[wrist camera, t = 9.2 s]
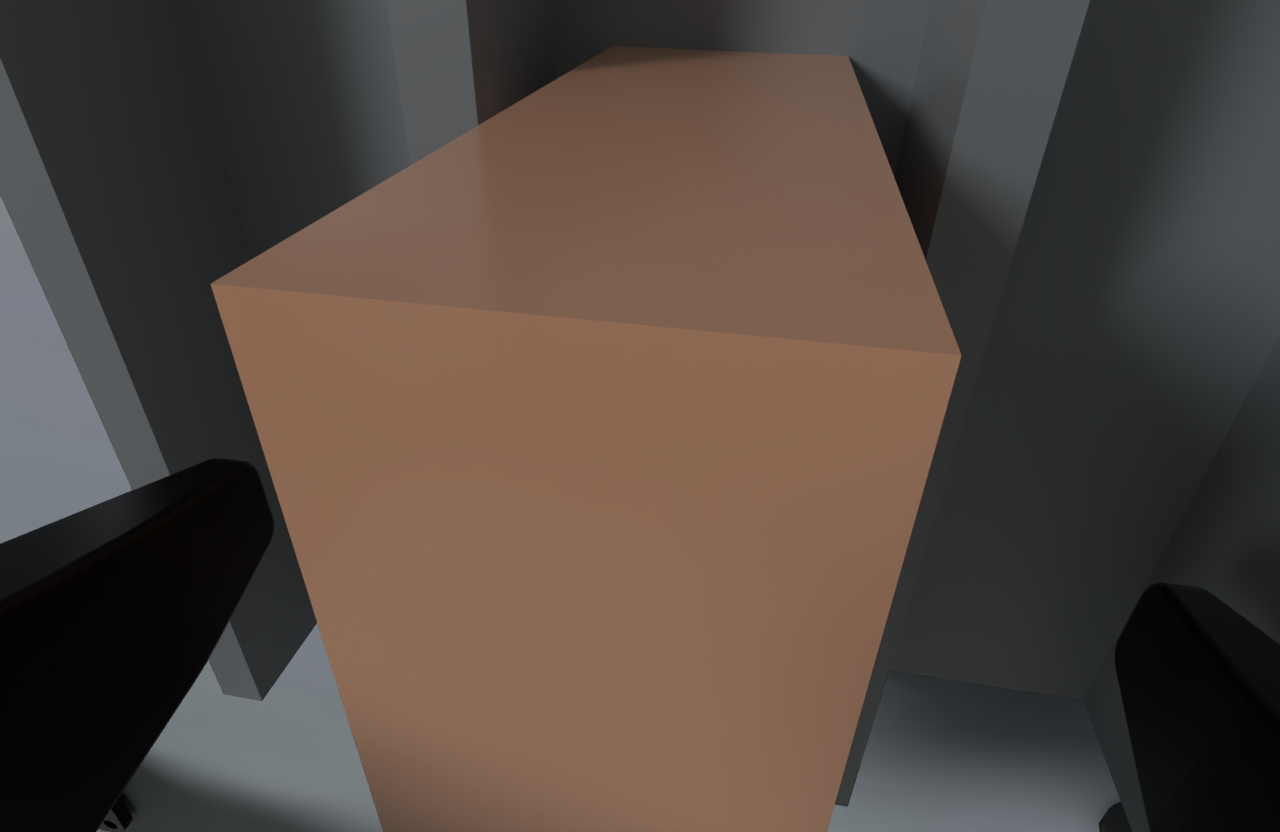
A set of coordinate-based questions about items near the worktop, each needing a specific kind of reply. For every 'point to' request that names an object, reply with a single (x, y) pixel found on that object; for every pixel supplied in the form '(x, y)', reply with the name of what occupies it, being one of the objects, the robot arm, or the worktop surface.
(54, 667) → the robot arm
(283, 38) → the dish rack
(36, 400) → the worktop surface
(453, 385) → the tall tan upright block
